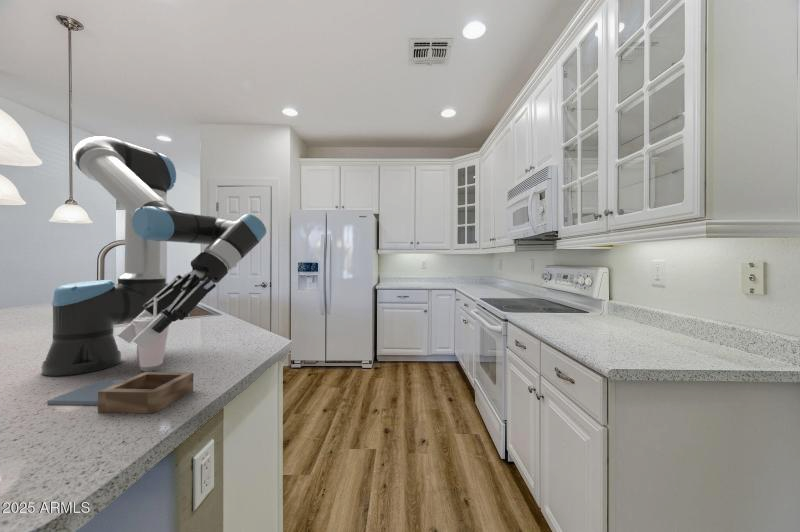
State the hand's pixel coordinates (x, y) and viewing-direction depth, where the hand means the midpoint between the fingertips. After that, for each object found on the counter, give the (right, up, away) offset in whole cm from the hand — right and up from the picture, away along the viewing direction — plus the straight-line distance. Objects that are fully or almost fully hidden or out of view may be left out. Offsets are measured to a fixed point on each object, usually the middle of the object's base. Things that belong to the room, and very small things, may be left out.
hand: (130, 341), depth 62 cm
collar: (+1, -13, +3) cm, 14 cm away
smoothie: (+2, -6, +3) cm, 7 cm away
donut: (-13, -13, +20) cm, 27 cm away
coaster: (-12, -13, +6) cm, 19 cm away
